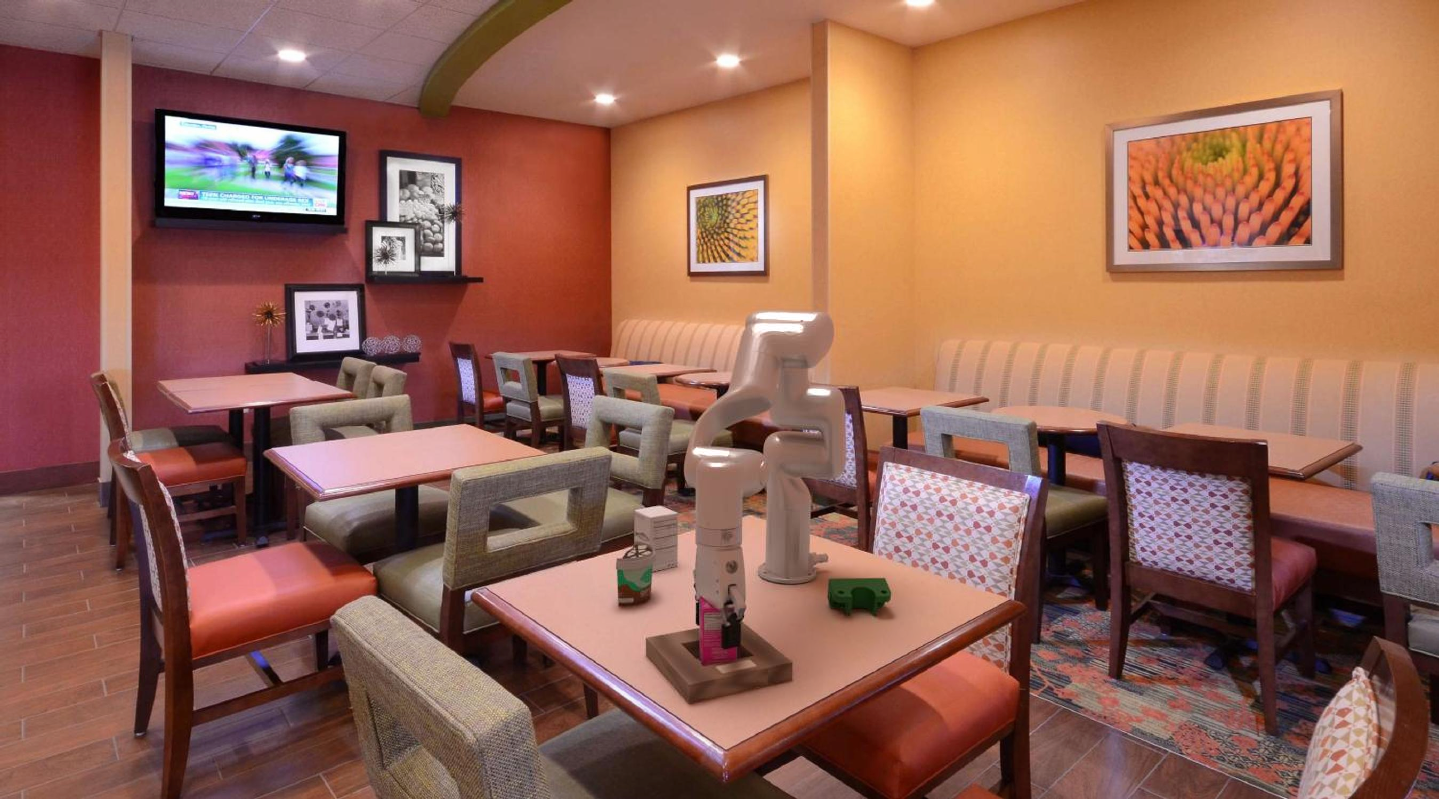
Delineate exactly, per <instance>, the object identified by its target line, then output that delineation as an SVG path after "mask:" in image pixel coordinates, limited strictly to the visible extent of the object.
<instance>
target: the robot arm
mask: <svg viewBox="0 0 1439 799" xmlns="http://www.w3.org/2000/svg"><path fill="white" fill-rule="evenodd" d="M834 337H835V326H834V322H833V320H832V317H831V316H830V315H829V314H828V313H826V312H823V311H815V310H812V311H811V310H807V311H806V310H785V309H781V310H780V309H764V310H761V309H760V310H756V311H753V312H751V313H750V314H748V315H747V317H746V319H745V324H744V330H743V332H742V334H741V336H740V340H739V344H738V349H737V353H736V357H735V359H734V360H735V362H734V366H733V369H732V373H731V378H730V382H729V387H728V390H727V392H725V393H724V394H723V395H722V396H720V397H719V398H718V399H716V400H715V401H714V402H713V403H712V404H711V405H709V406H708V407H707V409H706V410H704V411H703V413H702V414H701V415H700V416H699V418H698V419H697V420H696V422H695V423H694V426H693V428H692V431H691V434H690V438H689V442H688V445H687V449H686V454H685V459H684V464H683V474H684V479H685V481H686V483H687V485H688V486H689V487H691V488H694V490H695V528H694V529H695V537H694V538H695V540H694V542H695V545H696V550H695V551H696V553H695V568H694V569H693V570H692V574H693V575H692V576H693V581H694V583H693V589H694V590H695V595H694V600H695V624H696V626H697V627H700V608H699V596H702V597H703V598H704V599H705V600H706V601H707V602H709V603H710V604H711V605H712V606H714V607H715V608H717V609H718V610H720V611H721V615H722V618H723V622H724V624H722V625H721V647H722V648H723V649H730V648H734V647H739V646H740V645H741V624H742V622H743V620H744V618H745V612H746V609H747V605H746V600H747V599H746V592H747V590H746V571H745V559H744V553H743V547H742V545H743V507H744V506H743V504H744V503H743V498H744V497H750V496H753V495H756V494H758V493H759V492H761V491H762V490H763V489H764V488H765V486H766V514H765V515H766V519H765V520H766V522H765V525H766V526H765V562H763V563H762V564H760V565H759V566H758V569H757V573H758V575H759V577H761V578H762V579H764V580H766V581H768V582H771V583H772V582H773V583H777V584H785V585H794V584H795V585H796V584H802V583H803V584H804V583H807V582H811V581H812V580H814V579H815V578H816V576H817V570H816V568H815V567H814V566H817V564H825V563H828V562H829V555H828V554H827V553H820V554H817V552H815V551H813V552H810V548H811V547H810V541H811V513H812V512H811V508H812V498H811V497H812V496H811V493H810V490H809V488H808V486H807V485H806V484H805V482H804V479H803V478H808V479H809V478H810V479H817V480H818V479H819V480H836V479H839V478H840V477H842V475H843V474H844V471H845V470H846V469H845V468H846V463H847V432H846V431H847V425H846V423H847V420H846V415H847V414H846V413H847V412H846V402H845V397H844V394H843V393H842V391H841V390H840V389H839V388H837V387H835V386H832V385H826V384H825V385H824V384H823V385H822V384H812V383H810V382H809V370H808V369H812V368H814V367H816V366H817V365H818V364H819V363H820V362H821V360H822V359H824V357H825V356H826V355H827V354H828V353H829V351H830V350H831V348H832V345H833V342H834ZM765 412H768V414H769V418H770V421H771V424H773V425H774V426H776V427H778V428H781V429H787V430H782V431H776V432H772V433H770V435H768V436H767V437H766V439H765V442H764V443H763V452H760V451H757V450H753V449H746V448H735V447H734V448H733V447H725V446H724V447H723V446H712V443H713V441H714V440H715V439H716V437H717V436H718V435H719V434H720V433H721V432H722V431H724V430H725V429H727V428H729V427H730V426H732V425H734V424H737V423H740V422H743V421H745V420H748V419H751V418H754V417H755V416H758V415H761V414H764V413H765ZM788 429H790V430H788ZM794 430H801V431H794ZM804 431H805V432H804ZM806 431H807V432H806ZM808 431H813V432H808ZM815 431H816V432H817V433H816V432H815ZM818 432H819V433H818ZM731 601H732V604H729V605H724V603H728V602H731ZM732 609H733V611H734V612H733V613H732V614H731V615H730V616H729V617H728V613H727V610H732ZM743 623H744V622H743Z"/></svg>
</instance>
